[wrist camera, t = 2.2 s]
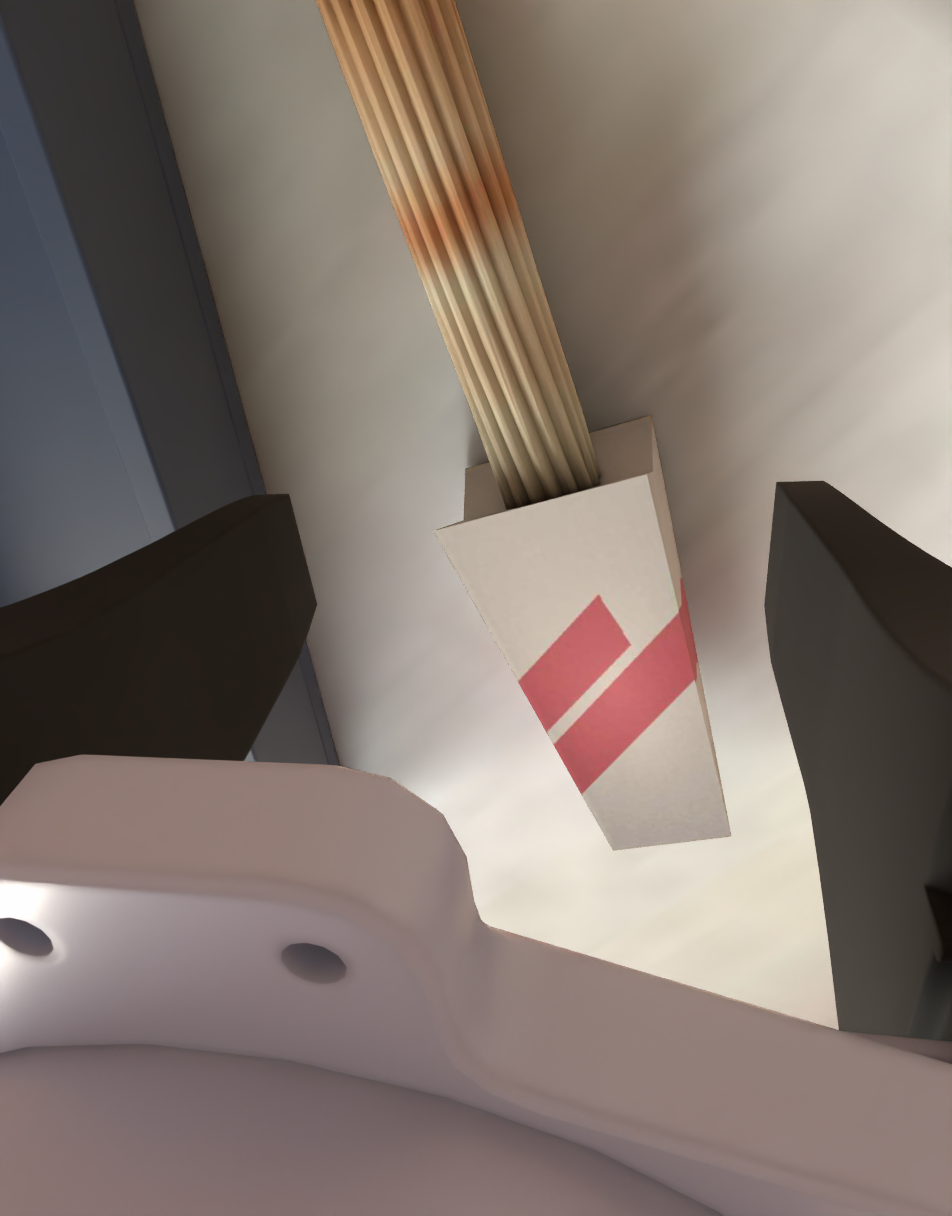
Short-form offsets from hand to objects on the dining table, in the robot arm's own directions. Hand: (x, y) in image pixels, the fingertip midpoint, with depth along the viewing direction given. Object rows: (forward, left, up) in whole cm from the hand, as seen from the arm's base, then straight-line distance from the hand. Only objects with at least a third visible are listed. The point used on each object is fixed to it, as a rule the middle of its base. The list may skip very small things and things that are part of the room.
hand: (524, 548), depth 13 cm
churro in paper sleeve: (0, 0, -5) cm, 5 cm away
